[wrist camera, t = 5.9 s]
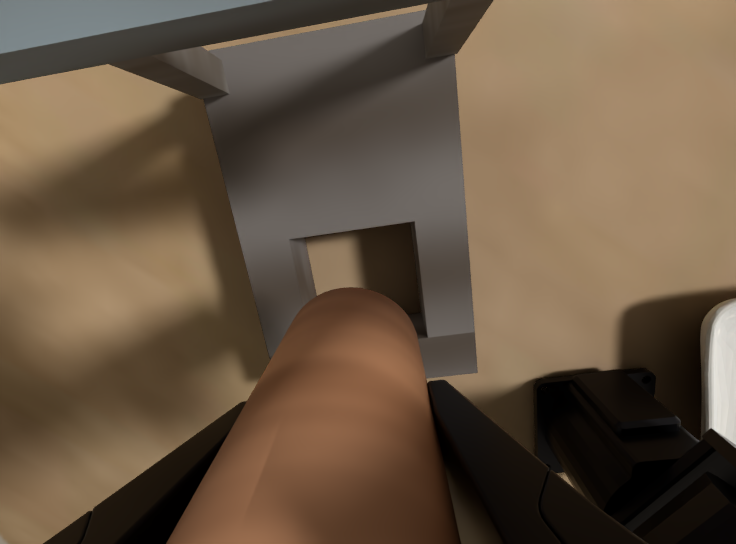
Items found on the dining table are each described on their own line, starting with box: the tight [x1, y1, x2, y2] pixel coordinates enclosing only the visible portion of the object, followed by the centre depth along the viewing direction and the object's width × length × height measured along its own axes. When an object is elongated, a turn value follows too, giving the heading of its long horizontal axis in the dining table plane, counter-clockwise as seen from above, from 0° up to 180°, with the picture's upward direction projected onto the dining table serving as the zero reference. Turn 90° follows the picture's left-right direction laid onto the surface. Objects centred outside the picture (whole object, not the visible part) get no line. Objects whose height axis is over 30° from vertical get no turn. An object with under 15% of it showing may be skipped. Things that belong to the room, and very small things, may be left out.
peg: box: [166, 287, 461, 544], centre depth 7 cm, size 4×4×8 cm
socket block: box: [0, 0, 493, 378], centre depth 12 cm, size 16×12×13 cm
